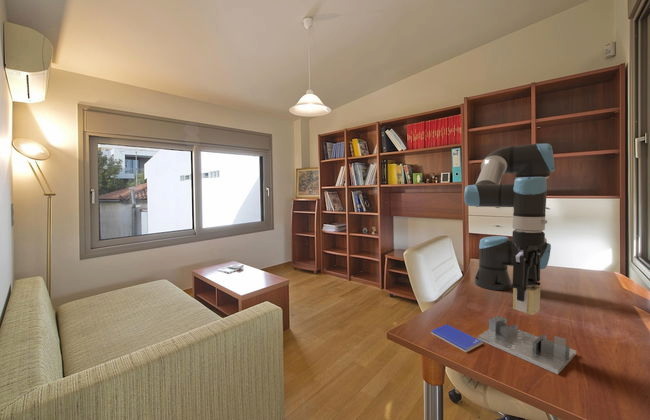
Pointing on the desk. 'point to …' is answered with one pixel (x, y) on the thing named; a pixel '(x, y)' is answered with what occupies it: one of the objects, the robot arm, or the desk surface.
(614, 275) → the desk surface
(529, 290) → the block
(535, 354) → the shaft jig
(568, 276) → the desk surface
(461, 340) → the hard drive
